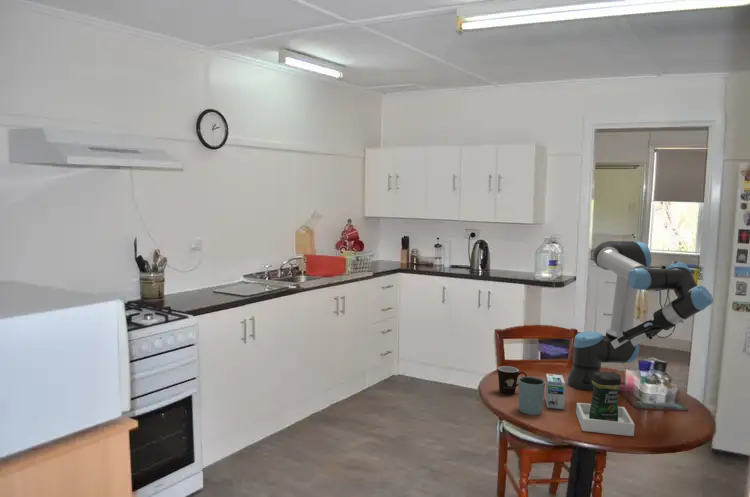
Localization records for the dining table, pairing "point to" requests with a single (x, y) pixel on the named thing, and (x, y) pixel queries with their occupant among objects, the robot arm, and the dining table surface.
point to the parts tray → (605, 422)
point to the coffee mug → (508, 379)
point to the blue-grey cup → (531, 395)
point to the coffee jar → (605, 396)
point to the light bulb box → (555, 391)
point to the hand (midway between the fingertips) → (622, 344)
